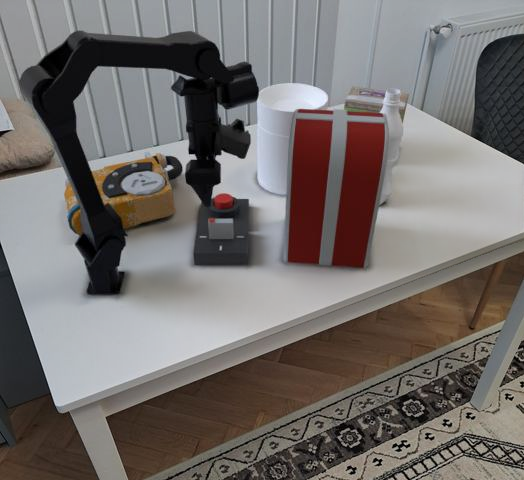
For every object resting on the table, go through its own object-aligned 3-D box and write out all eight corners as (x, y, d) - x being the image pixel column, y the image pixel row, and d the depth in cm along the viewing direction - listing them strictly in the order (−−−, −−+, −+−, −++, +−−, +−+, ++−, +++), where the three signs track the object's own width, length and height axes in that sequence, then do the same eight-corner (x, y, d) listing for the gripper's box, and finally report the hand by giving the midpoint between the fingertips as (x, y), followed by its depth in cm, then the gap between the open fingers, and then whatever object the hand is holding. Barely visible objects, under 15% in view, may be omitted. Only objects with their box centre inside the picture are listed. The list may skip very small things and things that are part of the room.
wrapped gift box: (288, 218, 120) (294, 96, 100) (366, 223, 119) (387, 100, 99) (282, 262, 109) (287, 135, 89) (368, 268, 107) (392, 140, 88)
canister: (331, 188, 129) (341, 105, 114) (271, 200, 125) (273, 116, 110) (304, 158, 139) (309, 79, 124) (248, 169, 135) (246, 88, 120)
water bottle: (354, 203, 124) (370, 94, 106) (365, 189, 129) (382, 82, 110) (383, 211, 122) (405, 100, 104) (393, 196, 126) (415, 88, 108)
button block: (248, 231, 116) (248, 215, 113) (199, 231, 116) (197, 216, 113) (249, 206, 123) (248, 191, 120) (202, 207, 123) (200, 191, 120)
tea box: (337, 156, 140) (343, 100, 129) (344, 140, 146) (351, 84, 136) (393, 165, 137) (405, 107, 126) (398, 147, 144) (409, 91, 133)
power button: (232, 209, 116) (232, 202, 114) (214, 209, 116) (214, 202, 114) (233, 200, 118) (232, 193, 117) (215, 200, 118) (215, 193, 117)
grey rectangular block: (233, 234, 110) (232, 217, 107) (233, 239, 109) (232, 221, 106) (210, 234, 110) (208, 217, 107) (209, 239, 109) (208, 221, 106)
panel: (247, 265, 108) (247, 252, 106) (194, 265, 108) (193, 252, 106) (248, 234, 116) (248, 221, 113) (198, 234, 116) (197, 221, 113)
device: (47, 163, 120) (172, 138, 129) (58, 195, 126) (176, 170, 135) (65, 212, 106) (203, 181, 115) (75, 246, 112) (206, 214, 121)
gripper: (247, 138, 86) (249, 220, 98) (247, 93, 99) (249, 170, 111) (180, 139, 86) (189, 220, 98) (188, 94, 99) (196, 170, 110)
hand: (208, 194), depth 104 cm, fingers open, 9 cm apart
